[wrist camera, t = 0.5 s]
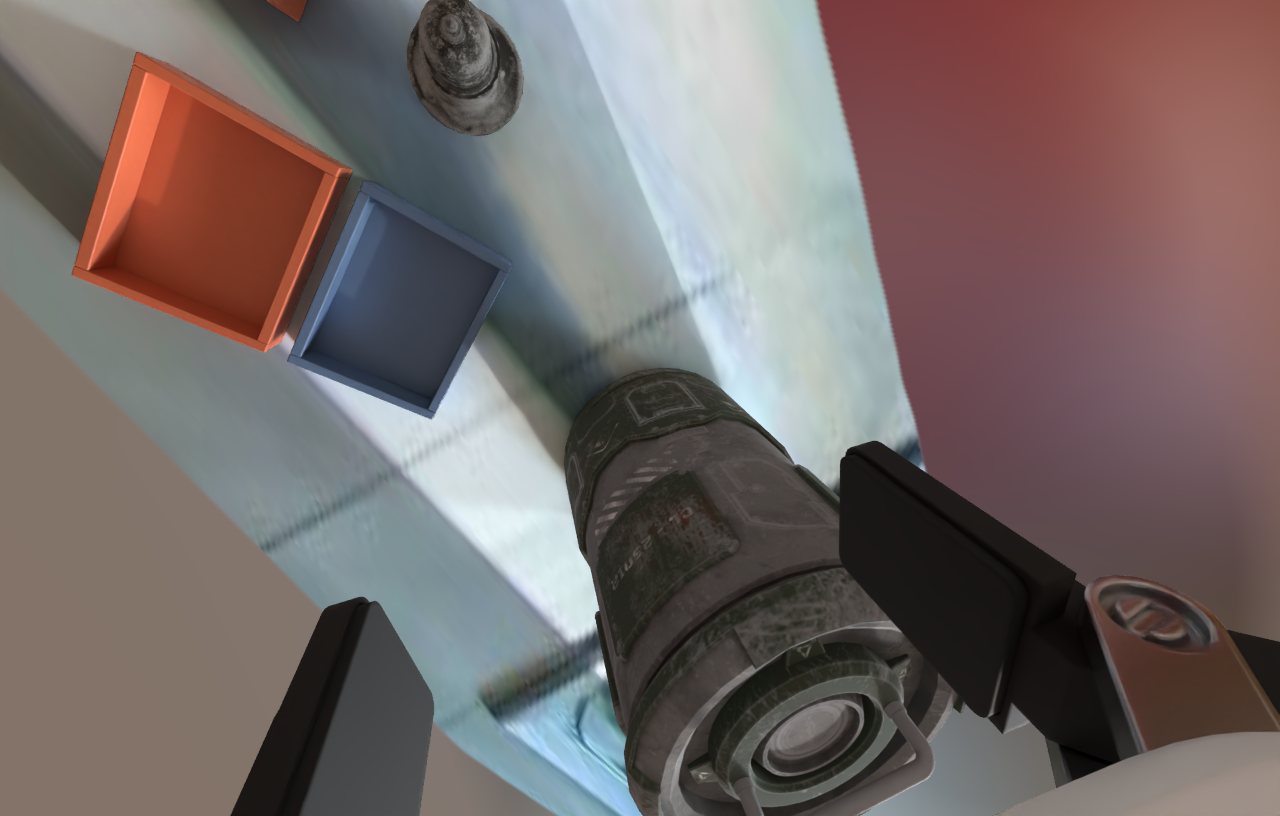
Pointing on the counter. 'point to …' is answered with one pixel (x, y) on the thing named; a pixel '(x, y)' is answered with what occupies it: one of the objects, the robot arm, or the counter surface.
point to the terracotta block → (290, 7)
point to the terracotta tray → (207, 208)
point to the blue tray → (398, 303)
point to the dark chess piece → (464, 67)
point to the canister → (737, 616)
